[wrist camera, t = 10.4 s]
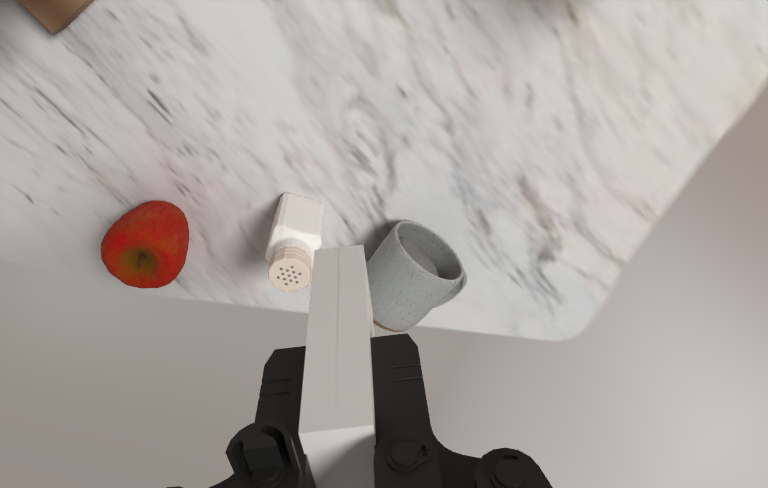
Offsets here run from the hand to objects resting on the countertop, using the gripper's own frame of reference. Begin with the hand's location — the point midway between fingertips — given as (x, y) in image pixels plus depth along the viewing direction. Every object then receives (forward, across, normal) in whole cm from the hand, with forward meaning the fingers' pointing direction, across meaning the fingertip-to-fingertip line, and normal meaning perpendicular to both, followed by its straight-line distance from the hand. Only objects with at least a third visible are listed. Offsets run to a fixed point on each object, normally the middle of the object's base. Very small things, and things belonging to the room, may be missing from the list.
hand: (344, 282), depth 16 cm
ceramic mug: (+29, +4, -20) cm, 35 cm away
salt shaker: (+29, -6, -13) cm, 32 cm away
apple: (+29, -18, -12) cm, 36 cm away
